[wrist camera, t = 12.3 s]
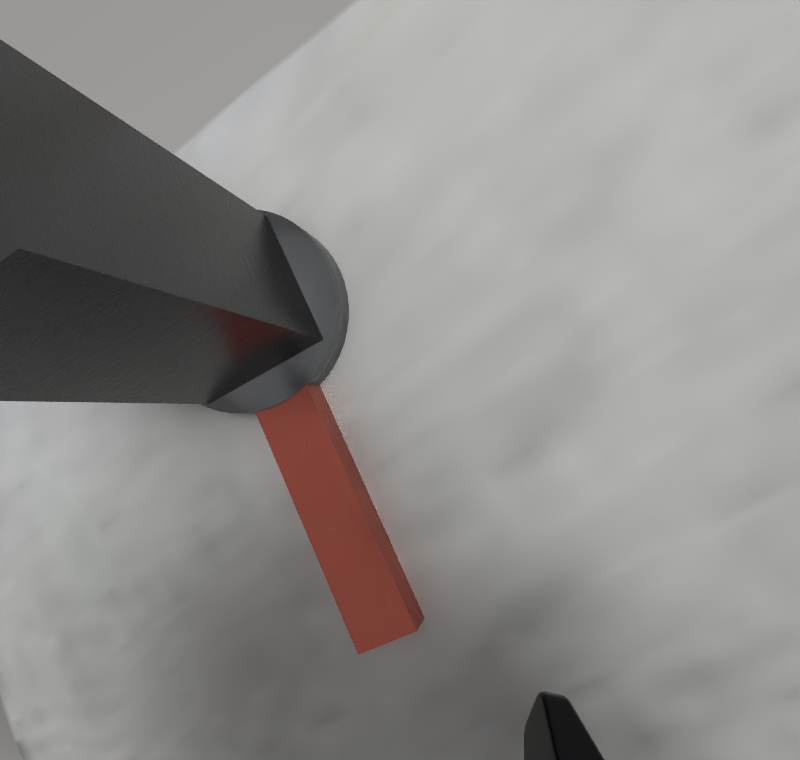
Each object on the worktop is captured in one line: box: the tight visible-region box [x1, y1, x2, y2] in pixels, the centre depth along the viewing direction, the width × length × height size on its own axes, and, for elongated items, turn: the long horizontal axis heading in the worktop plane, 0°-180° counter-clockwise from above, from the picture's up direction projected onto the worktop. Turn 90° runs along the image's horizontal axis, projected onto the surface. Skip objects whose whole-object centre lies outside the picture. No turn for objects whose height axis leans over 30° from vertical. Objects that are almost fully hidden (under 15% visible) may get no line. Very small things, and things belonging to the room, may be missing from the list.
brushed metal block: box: [0, 40, 324, 404], centre depth 16 cm, size 5×5×12 cm
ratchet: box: [202, 210, 424, 654], centre depth 20 cm, size 18×8×4 cm, turn 26°
